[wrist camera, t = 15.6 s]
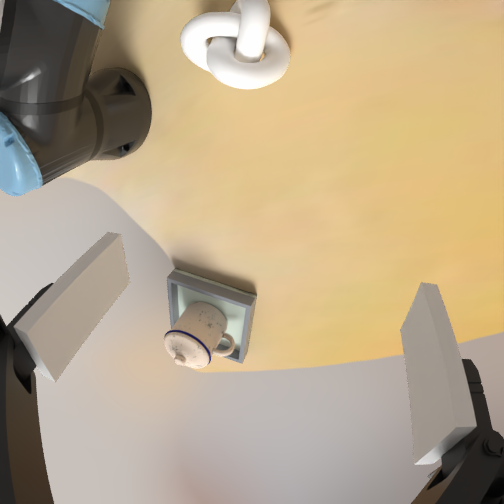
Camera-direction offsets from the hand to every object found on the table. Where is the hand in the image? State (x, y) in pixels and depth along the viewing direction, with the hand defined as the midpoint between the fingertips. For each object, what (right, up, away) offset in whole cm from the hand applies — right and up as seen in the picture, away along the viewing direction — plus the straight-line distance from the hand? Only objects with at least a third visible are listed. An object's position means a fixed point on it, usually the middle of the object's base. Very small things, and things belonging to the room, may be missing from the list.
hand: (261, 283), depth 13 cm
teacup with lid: (-8, -11, +47) cm, 49 cm away
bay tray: (-8, -10, +47) cm, 49 cm away
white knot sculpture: (0, +28, +20) cm, 34 cm away
